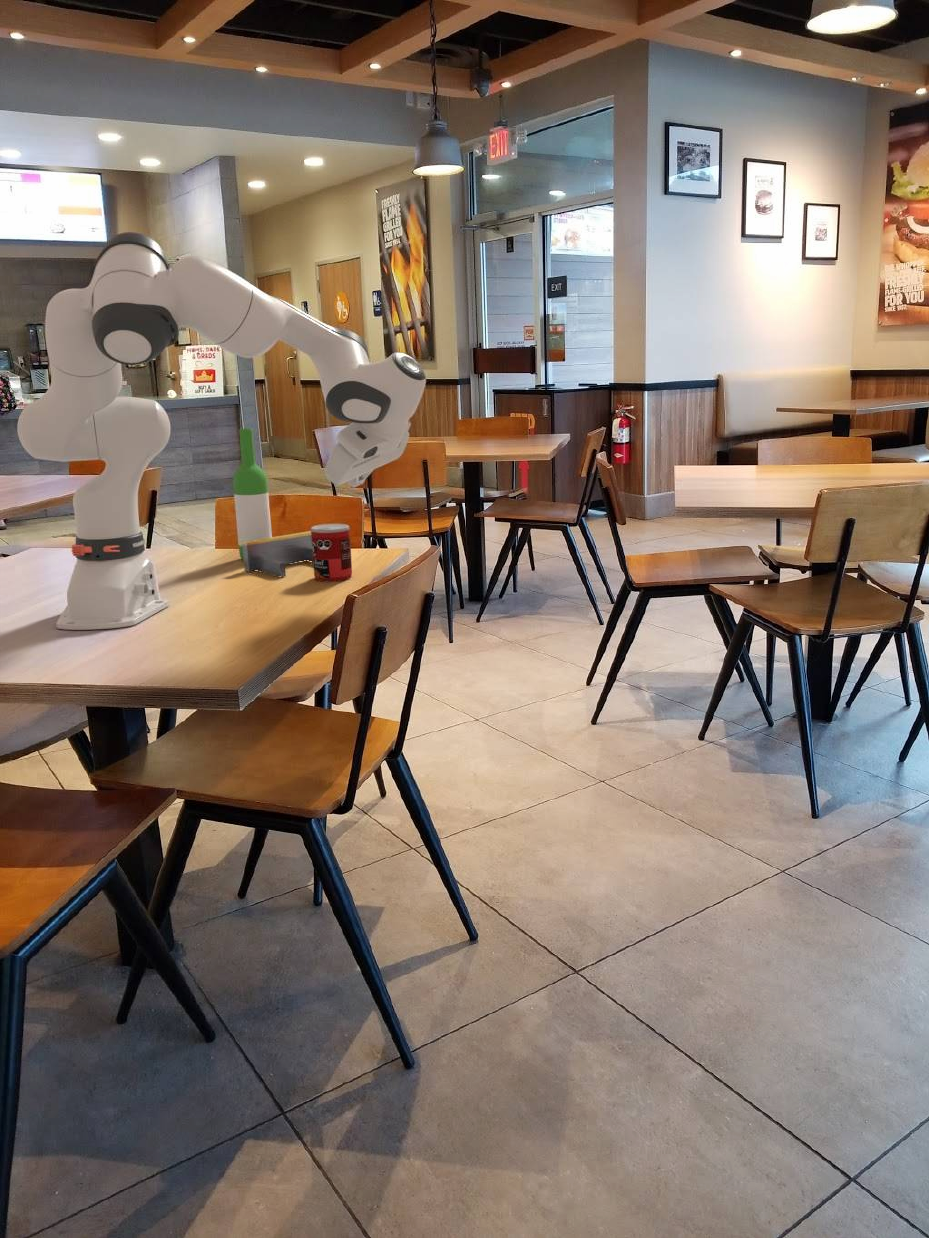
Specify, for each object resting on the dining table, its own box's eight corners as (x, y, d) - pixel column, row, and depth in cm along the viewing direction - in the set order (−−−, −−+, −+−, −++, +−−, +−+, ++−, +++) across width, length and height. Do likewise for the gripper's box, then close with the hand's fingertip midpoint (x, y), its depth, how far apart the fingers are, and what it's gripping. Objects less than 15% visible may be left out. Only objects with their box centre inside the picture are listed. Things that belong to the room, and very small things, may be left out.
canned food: (310, 576, 204) (306, 525, 201) (345, 572, 207) (342, 522, 204) (320, 583, 197) (316, 531, 194) (357, 579, 200) (354, 527, 197)
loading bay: (343, 565, 214) (341, 536, 213) (273, 578, 203) (271, 548, 201) (312, 558, 223) (310, 530, 221) (244, 571, 211) (242, 542, 209)
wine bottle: (257, 554, 230) (246, 427, 222) (280, 557, 225) (270, 428, 217) (232, 560, 223) (220, 430, 216) (256, 563, 219) (244, 430, 211)
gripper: (401, 407, 188) (377, 458, 197) (332, 434, 173) (309, 488, 183) (424, 427, 187) (398, 478, 196) (356, 457, 172) (332, 510, 181)
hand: (355, 483), depth 189 cm, fingers closed
